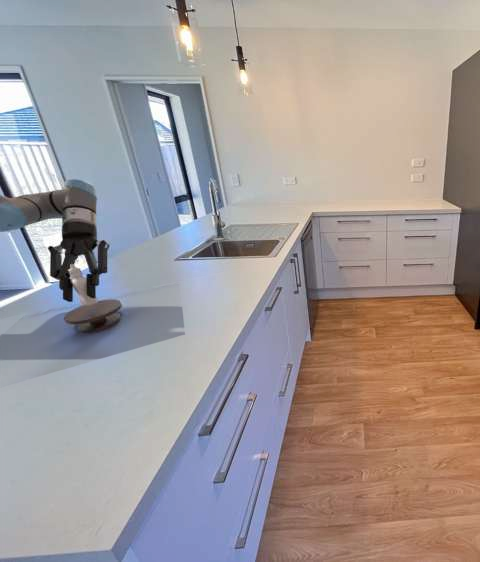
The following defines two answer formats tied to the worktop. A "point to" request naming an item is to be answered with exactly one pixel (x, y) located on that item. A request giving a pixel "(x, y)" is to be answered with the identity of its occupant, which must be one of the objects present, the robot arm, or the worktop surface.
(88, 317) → the walnut stand
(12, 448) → the worktop surface
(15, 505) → the worktop surface
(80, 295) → the eye dropper bottle
